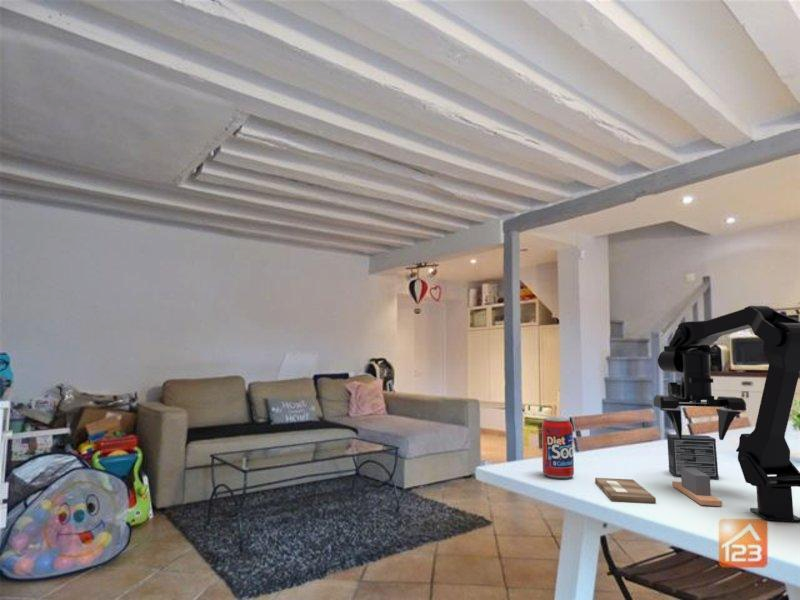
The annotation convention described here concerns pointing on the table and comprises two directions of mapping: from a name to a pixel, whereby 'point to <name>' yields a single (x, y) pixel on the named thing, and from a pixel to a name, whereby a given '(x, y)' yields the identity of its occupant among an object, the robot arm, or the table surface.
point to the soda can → (557, 448)
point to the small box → (692, 454)
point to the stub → (696, 487)
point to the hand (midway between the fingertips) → (700, 439)
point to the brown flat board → (624, 490)
